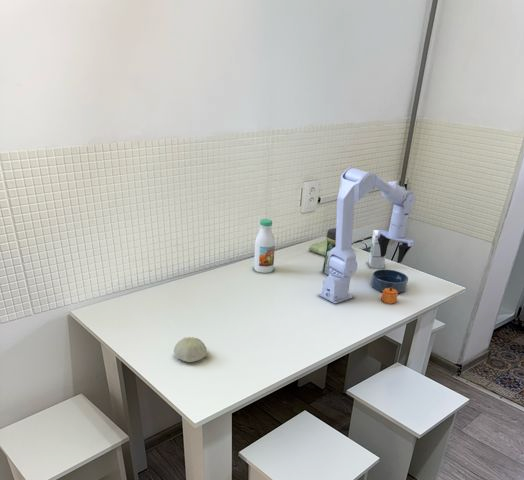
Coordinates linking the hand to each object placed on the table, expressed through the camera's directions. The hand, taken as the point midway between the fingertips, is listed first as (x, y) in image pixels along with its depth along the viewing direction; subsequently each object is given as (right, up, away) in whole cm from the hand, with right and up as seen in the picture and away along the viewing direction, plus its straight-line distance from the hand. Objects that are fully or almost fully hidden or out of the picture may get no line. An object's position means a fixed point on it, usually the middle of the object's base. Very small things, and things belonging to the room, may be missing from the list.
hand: (391, 259), depth 185 cm
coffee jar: (-20, -4, +11) cm, 23 cm away
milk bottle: (-48, -2, +10) cm, 50 cm away
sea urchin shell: (-69, -36, -46) cm, 91 cm away
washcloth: (-19, +10, +33) cm, 39 cm away
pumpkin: (-3, -17, -9) cm, 19 cm away
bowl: (-1, -10, +2) cm, 11 cm away
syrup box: (-1, +1, +20) cm, 20 cm away
